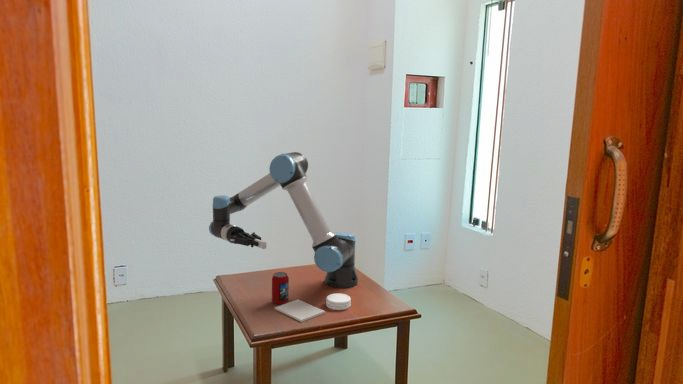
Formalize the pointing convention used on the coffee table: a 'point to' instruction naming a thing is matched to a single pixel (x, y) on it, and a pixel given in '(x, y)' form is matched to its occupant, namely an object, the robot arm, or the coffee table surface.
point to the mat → (299, 310)
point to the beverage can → (280, 288)
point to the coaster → (338, 301)
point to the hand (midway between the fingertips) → (264, 245)
